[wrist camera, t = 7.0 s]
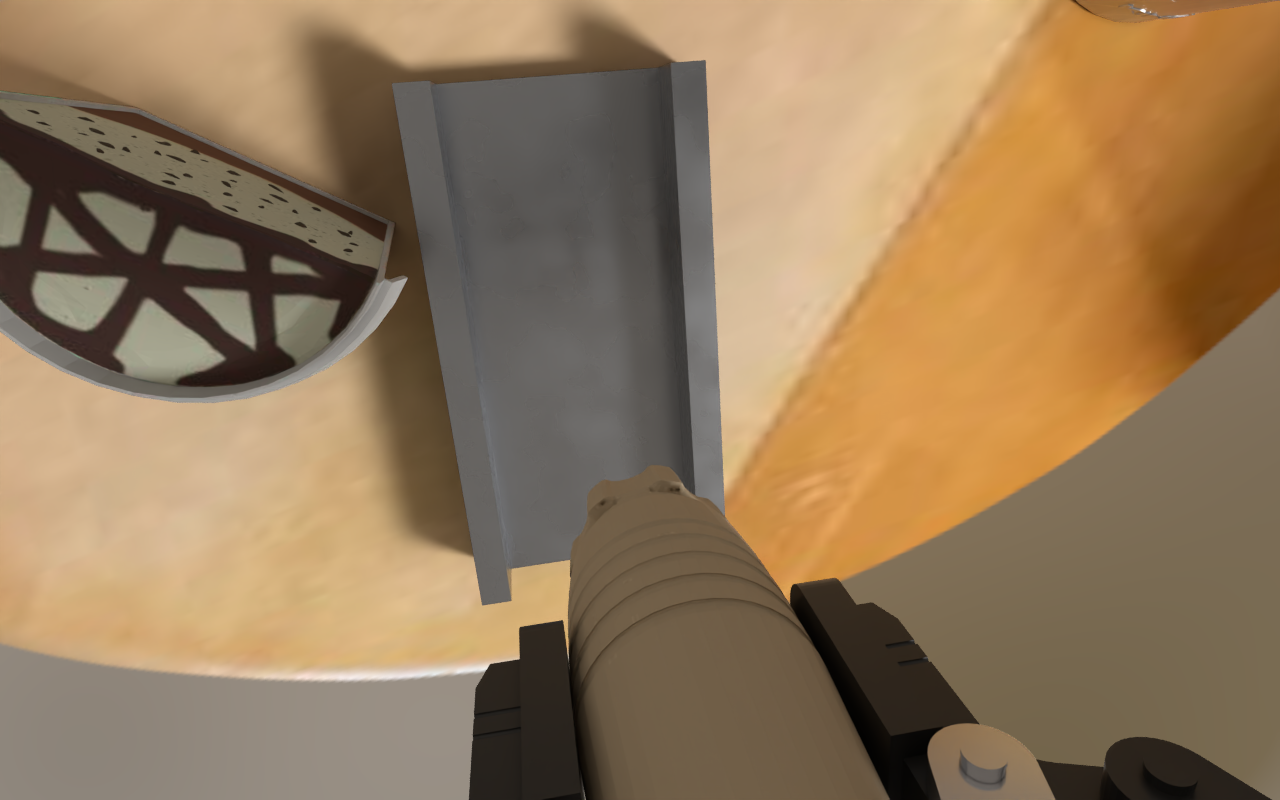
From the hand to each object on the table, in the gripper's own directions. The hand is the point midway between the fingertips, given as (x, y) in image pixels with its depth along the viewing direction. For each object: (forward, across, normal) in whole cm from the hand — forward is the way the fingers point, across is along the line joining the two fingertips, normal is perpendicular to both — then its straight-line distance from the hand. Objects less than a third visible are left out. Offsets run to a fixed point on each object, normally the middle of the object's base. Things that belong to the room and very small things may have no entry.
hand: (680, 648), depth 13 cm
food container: (+21, +12, -5) cm, 25 cm away
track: (+21, 0, 0) cm, 21 cm away
